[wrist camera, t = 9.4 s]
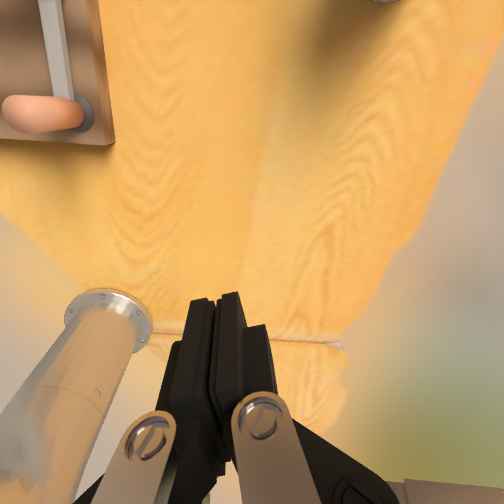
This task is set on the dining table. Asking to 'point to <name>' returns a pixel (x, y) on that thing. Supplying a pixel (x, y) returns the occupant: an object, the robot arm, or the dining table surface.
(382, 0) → the grey cylinder with loop
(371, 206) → the dining table surface
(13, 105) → the crank handle
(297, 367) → the dining table surface
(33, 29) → the wooden peg board
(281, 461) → the robot arm
